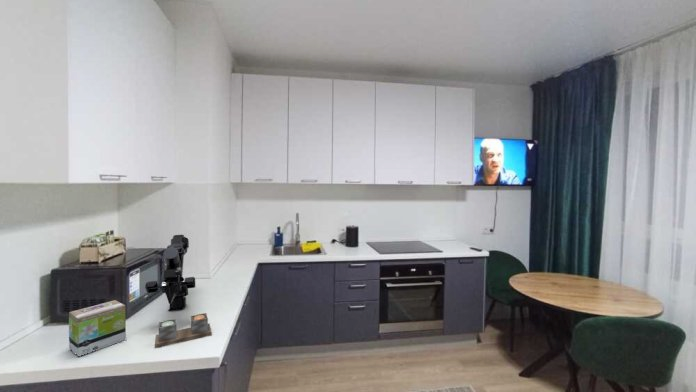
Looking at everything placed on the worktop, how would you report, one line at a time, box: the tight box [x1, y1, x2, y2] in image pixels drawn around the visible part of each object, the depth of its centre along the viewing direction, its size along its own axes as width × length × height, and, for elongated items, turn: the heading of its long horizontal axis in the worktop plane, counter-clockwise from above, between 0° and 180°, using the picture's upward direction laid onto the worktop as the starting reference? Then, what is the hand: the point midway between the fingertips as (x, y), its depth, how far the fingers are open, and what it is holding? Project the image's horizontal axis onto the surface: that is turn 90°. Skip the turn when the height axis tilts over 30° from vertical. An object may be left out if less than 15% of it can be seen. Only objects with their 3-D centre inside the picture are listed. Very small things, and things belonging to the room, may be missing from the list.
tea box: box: [68, 299, 127, 357], centre depth 117 cm, size 15×10×15 cm
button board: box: [154, 312, 213, 349], centre depth 123 cm, size 20×8×7 cm, turn 121°
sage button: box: [162, 320, 174, 327], centre depth 120 cm, size 4×4×2 cm
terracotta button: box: [194, 314, 205, 320], centre depth 126 cm, size 4×4×2 cm
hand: (169, 303), depth 127 cm, fingers closed
